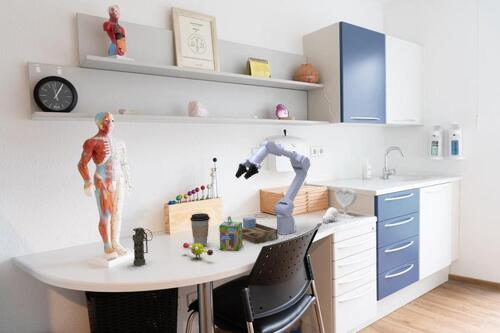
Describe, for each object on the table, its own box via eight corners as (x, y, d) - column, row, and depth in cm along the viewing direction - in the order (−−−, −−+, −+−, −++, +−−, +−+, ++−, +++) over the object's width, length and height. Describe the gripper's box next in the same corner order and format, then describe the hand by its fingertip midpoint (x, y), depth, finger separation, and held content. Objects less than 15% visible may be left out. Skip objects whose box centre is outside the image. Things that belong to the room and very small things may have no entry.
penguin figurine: (338, 207, 211) (326, 212, 204) (339, 220, 212) (327, 225, 205) (330, 206, 216) (318, 210, 209) (331, 219, 217) (319, 224, 210)
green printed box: (238, 251, 157) (238, 219, 156) (219, 250, 159) (218, 218, 158) (243, 245, 166) (242, 215, 165) (224, 244, 168) (224, 214, 167)
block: (250, 225, 191) (250, 217, 191) (255, 227, 187) (255, 218, 187) (243, 227, 188) (242, 218, 188) (248, 229, 184) (248, 219, 184)
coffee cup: (187, 247, 163) (186, 216, 162) (196, 242, 172) (196, 212, 171) (204, 249, 160) (204, 217, 159) (213, 243, 169) (213, 213, 168)
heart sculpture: (333, 214, 233) (334, 188, 232) (339, 213, 236) (339, 187, 234) (352, 218, 220) (352, 190, 219) (357, 217, 223) (357, 189, 222)
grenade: (135, 268, 136) (133, 231, 135) (129, 264, 141) (127, 228, 140) (155, 263, 142) (154, 227, 141) (149, 259, 147) (148, 225, 146)
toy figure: (179, 256, 151) (178, 240, 150) (188, 252, 155) (188, 238, 155) (206, 265, 139) (206, 248, 139) (216, 261, 144) (216, 245, 143)
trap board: (252, 230, 193) (252, 221, 192) (277, 239, 175) (277, 229, 175) (231, 234, 185) (231, 225, 184) (255, 244, 167) (255, 234, 166)
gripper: (244, 152, 179) (228, 170, 174) (261, 153, 167) (244, 172, 162) (251, 162, 182) (236, 180, 177) (269, 163, 170) (252, 183, 165)
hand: (240, 177), depth 169 cm, fingers open, 7 cm apart
